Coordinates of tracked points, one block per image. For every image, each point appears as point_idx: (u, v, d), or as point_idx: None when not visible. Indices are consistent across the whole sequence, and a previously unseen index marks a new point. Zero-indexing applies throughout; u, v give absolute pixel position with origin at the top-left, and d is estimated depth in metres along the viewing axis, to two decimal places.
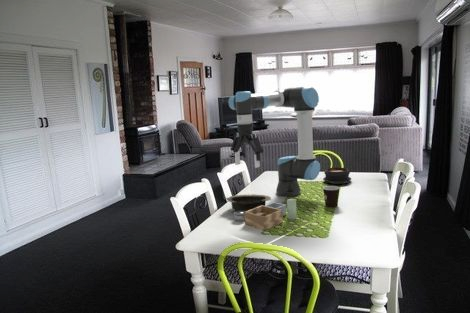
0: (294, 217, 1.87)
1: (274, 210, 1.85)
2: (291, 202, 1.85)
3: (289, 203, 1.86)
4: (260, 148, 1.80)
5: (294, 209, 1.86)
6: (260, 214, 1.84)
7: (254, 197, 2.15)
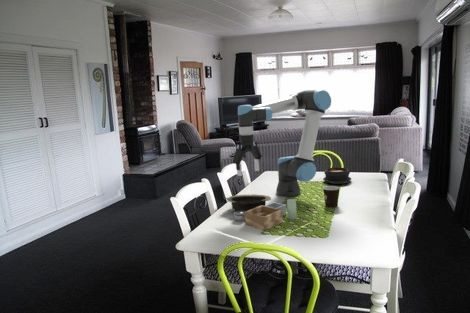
0: (294, 217, 1.87)
1: (274, 210, 1.85)
2: (291, 202, 1.85)
3: (289, 203, 1.86)
4: (235, 159, 1.96)
5: (294, 209, 1.86)
6: (260, 214, 1.84)
7: (254, 197, 2.15)
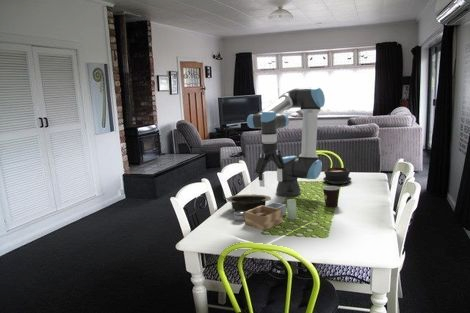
0: (294, 217, 1.87)
1: (274, 210, 1.85)
2: (291, 202, 1.85)
3: (289, 203, 1.86)
4: (257, 168, 1.84)
5: (294, 209, 1.86)
6: (260, 214, 1.84)
7: (254, 197, 2.15)
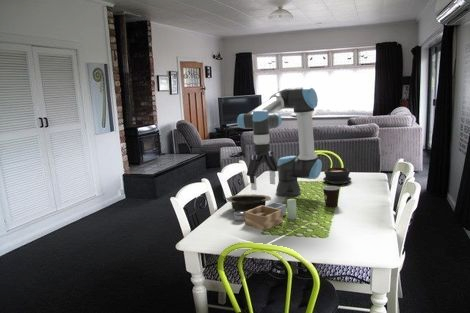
0: (294, 217, 1.87)
1: (274, 210, 1.85)
2: (291, 202, 1.85)
3: (289, 203, 1.86)
4: (249, 171, 1.74)
5: (294, 209, 1.86)
6: (260, 214, 1.84)
7: (254, 197, 2.15)
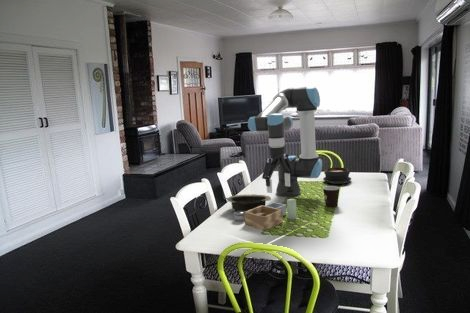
0: (294, 217, 1.87)
1: (274, 210, 1.85)
2: (291, 202, 1.85)
3: (289, 203, 1.86)
4: (264, 174, 1.76)
5: (294, 209, 1.86)
6: (260, 214, 1.84)
7: (254, 197, 2.15)
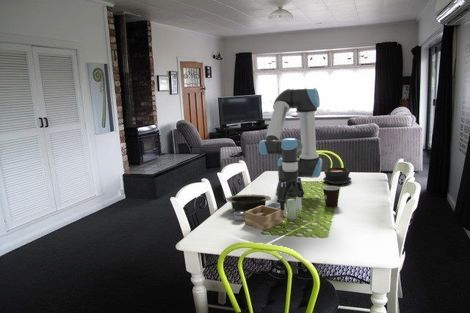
0: (294, 217, 1.87)
1: (274, 210, 1.85)
2: (291, 202, 1.85)
3: (289, 203, 1.86)
4: (279, 198, 1.80)
5: (294, 209, 1.86)
6: (260, 214, 1.84)
7: (254, 197, 2.15)
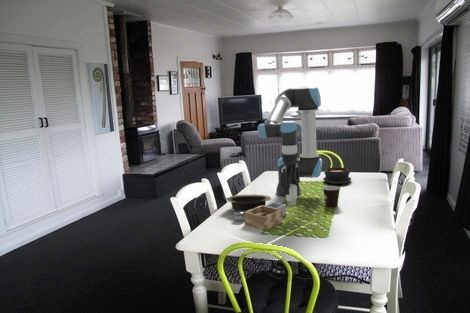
0: (294, 202, 1.86)
1: (274, 210, 1.85)
2: (291, 187, 1.84)
3: None
4: (283, 184, 1.82)
5: (294, 194, 1.85)
6: (260, 214, 1.84)
7: (254, 197, 2.15)
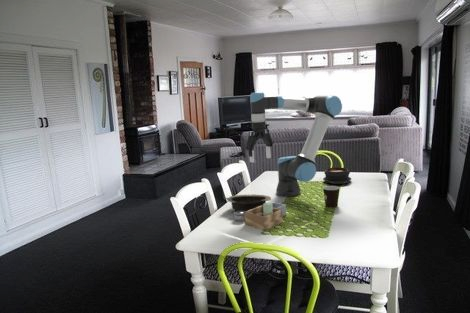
0: None
1: (274, 210, 1.85)
2: (267, 206, 1.78)
3: (265, 207, 1.79)
4: (247, 145, 1.99)
5: (271, 213, 1.79)
6: (260, 214, 1.84)
7: (254, 197, 2.15)
